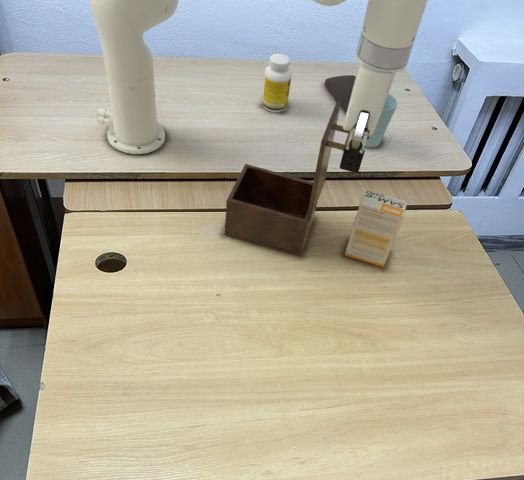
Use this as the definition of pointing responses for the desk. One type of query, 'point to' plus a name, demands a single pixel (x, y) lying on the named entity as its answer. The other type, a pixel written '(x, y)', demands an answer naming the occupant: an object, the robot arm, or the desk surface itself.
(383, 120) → the cup
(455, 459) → the desk surface
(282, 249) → the chest
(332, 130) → the lid
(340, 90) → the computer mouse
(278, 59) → the pill bottle
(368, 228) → the supplement box
